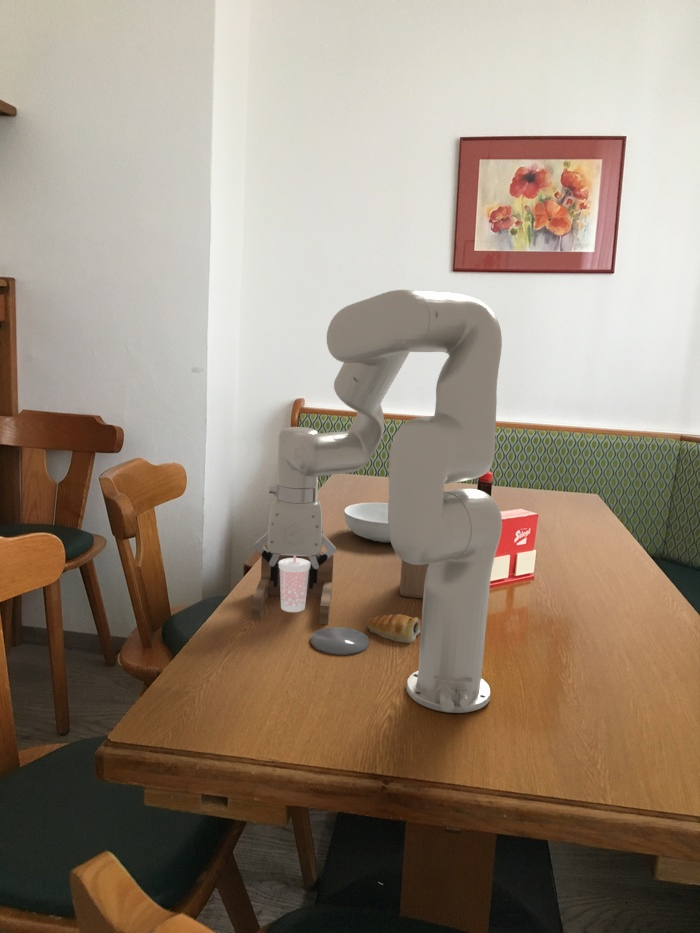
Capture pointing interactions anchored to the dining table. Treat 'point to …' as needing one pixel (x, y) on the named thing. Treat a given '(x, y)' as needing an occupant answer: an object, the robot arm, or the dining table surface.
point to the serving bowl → (369, 520)
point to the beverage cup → (293, 583)
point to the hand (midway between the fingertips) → (293, 584)
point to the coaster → (339, 641)
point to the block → (412, 579)
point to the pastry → (395, 627)
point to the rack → (319, 589)
